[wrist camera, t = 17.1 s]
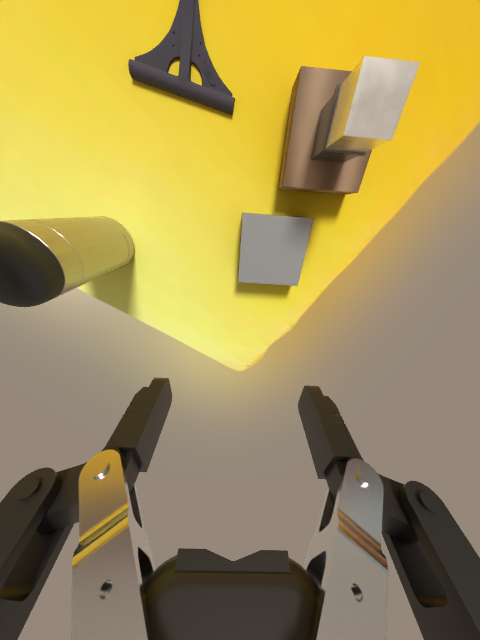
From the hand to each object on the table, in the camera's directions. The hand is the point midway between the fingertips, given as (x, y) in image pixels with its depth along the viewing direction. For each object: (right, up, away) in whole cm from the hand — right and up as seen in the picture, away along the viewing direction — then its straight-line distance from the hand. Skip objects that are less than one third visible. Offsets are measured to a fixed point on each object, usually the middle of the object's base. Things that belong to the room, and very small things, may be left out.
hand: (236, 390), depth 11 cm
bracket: (-6, +43, +13) cm, 45 cm away
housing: (+13, +30, +15) cm, 36 cm away
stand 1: (+6, +19, +26) cm, 33 cm away
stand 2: (+13, +32, +18) cm, 39 cm away
